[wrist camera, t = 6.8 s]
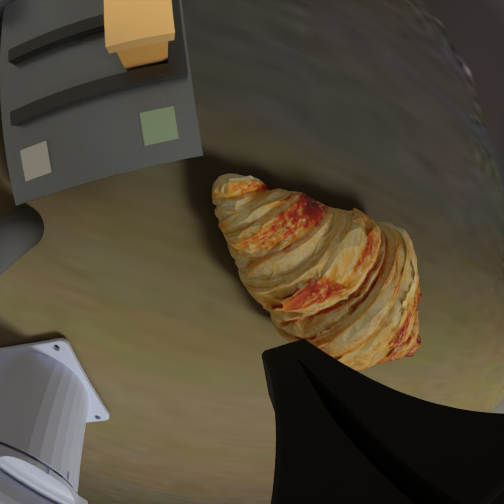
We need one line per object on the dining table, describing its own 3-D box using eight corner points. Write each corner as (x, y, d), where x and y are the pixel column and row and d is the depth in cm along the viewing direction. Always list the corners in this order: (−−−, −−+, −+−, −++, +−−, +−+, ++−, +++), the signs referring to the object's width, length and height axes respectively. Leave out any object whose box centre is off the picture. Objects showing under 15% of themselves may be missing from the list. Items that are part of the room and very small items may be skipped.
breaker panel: (34, 198, 14) (9, 208, 11) (20, 19, 10) (-2, 1, 7) (198, 155, 16) (205, 155, 13) (174, -26, 12) (177, -54, 9)
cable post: (18, 250, 15) (-30, 290, 9) (7, 212, 14) (-47, 241, 8) (48, 241, 15) (4, 281, 10) (37, 202, 14) (-13, 227, 9)
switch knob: (121, 73, 11) (105, 46, 8) (117, 27, 10) (103, -10, 7) (172, 63, 12) (175, 32, 8) (167, 17, 11) (169, -23, 7)
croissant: (178, 209, 20) (138, 296, 14) (283, 96, 15) (288, 140, 9) (363, 339, 28) (374, 413, 22) (450, 286, 23) (481, 361, 17)
